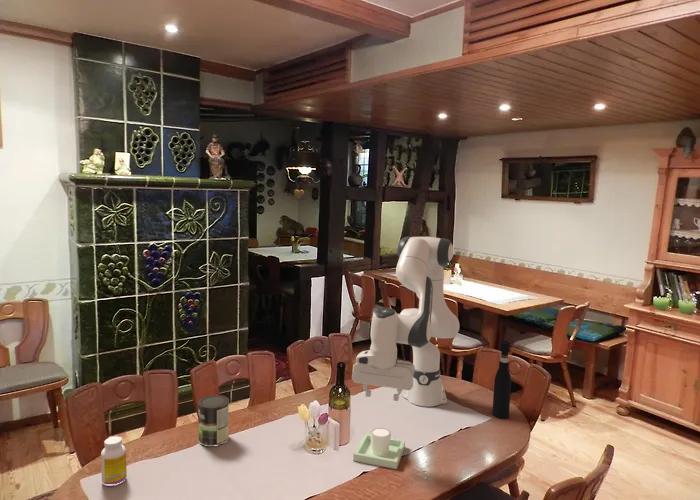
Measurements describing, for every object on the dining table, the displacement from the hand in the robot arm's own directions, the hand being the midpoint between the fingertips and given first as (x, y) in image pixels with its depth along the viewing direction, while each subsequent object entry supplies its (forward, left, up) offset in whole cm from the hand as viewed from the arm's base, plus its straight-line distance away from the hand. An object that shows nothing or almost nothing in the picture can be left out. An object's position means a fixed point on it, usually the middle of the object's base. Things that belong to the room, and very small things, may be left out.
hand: (382, 398), depth 162 cm
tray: (0, 0, -20) cm, 20 cm away
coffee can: (+11, -57, -20) cm, 61 cm away
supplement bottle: (+42, -71, -20) cm, 85 cm away
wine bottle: (-44, +39, -20) cm, 62 cm away
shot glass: (0, 0, -19) cm, 19 cm away
